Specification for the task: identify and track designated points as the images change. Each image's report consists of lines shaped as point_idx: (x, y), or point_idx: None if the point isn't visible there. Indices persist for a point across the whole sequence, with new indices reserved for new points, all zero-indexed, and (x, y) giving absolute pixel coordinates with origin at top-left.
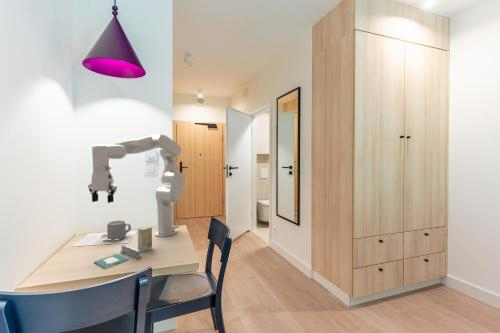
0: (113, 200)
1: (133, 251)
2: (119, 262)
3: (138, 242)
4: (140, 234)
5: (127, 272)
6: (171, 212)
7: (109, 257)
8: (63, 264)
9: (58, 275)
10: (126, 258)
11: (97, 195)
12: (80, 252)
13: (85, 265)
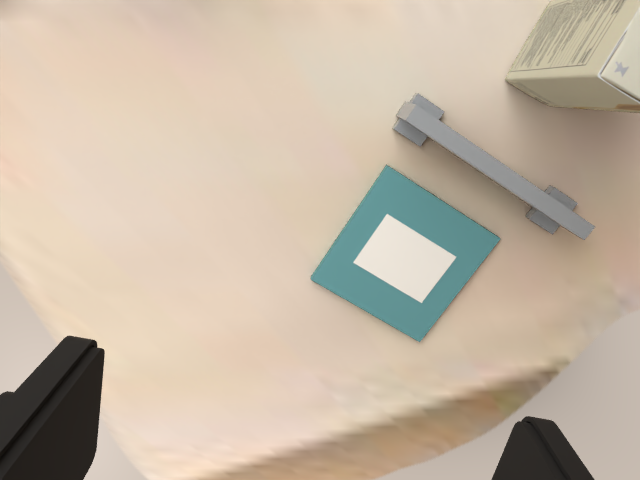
0: (561, 434)
1: (533, 206)
2: (467, 280)
3: (537, 82)
4: (601, 98)
5: (552, 366)
6: None
7: (370, 221)
8: (148, 301)
9: (231, 404)
10: (487, 231)
11: (29, 463)
12: (97, 128)
13: (284, 307)
